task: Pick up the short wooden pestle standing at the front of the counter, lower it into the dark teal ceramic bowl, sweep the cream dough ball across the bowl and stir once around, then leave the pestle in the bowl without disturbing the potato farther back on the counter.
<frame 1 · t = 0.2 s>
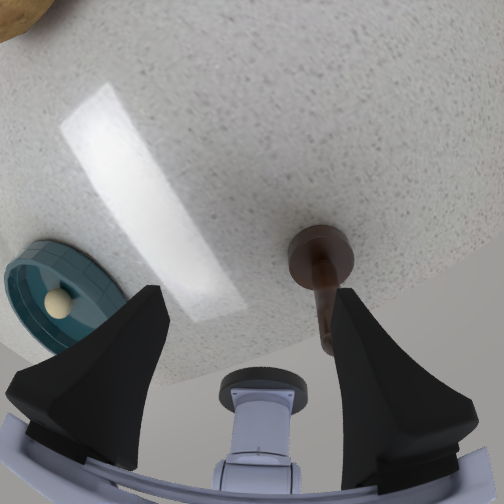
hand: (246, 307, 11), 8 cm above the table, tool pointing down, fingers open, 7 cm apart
bowl: (73, 301, 25), on the table
dough ball: (58, 303, 22), point 2 cm above the table, touching bowl
wooden pestle: (319, 252, 19), on the table
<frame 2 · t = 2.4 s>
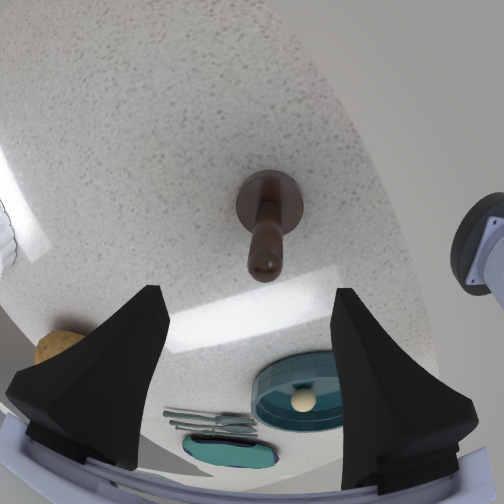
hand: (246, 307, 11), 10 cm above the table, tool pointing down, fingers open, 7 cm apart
cutlery set: (227, 441, 45), on the table
potato: (81, 341, 32), on the table
bowl: (315, 386, 31), on the table
dough ball: (303, 400, 30), point 2 cm above the table, touching bowl
wooden pestle: (270, 200, 20), on the table
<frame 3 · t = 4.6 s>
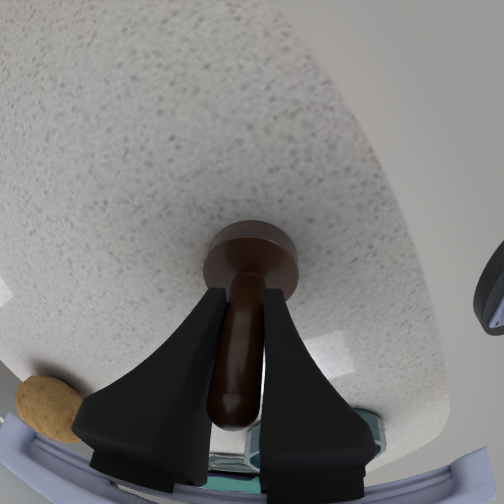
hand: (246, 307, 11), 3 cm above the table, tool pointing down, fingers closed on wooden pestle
cutlery set: (225, 471, 40), on the table
potato: (62, 383, 27), on the table
bowl: (315, 434, 26), on the table
wooden pestle: (252, 259, 14), on the table, touching gripper
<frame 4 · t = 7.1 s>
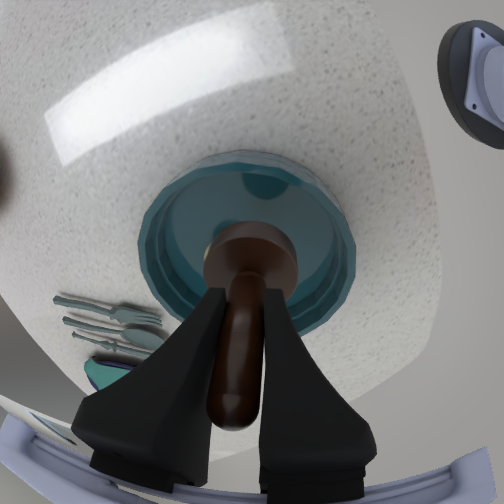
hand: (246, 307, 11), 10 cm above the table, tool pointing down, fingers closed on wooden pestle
cutlery set: (139, 373, 36), on the table
bowl: (248, 246, 22), on the table
wooden pestle: (252, 259, 14), point 7 cm above the table, touching gripper
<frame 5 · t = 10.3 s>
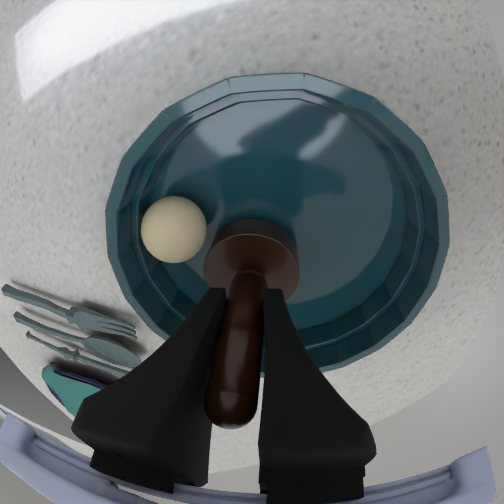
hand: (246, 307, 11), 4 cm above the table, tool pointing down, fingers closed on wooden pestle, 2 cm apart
cutlery set: (107, 388, 27), on the table
bowl: (278, 233, 14), on the table
dough ball: (173, 229, 12), point 2 cm above the table, tilted 126°, touching bowl
wooden pestle: (253, 258, 14), point 1 cm above the table, touching gripper
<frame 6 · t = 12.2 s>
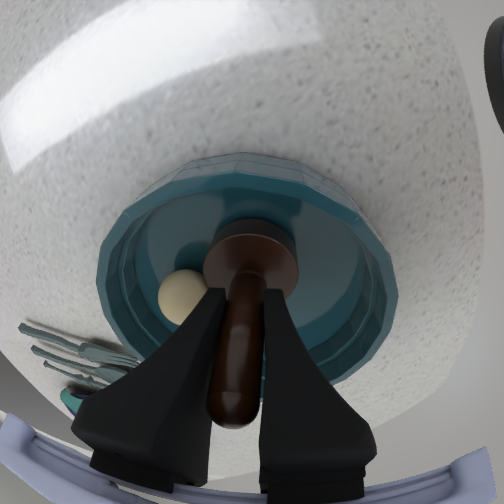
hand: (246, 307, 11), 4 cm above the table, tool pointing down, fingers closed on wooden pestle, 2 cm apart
cutlery set: (120, 406, 29), on the table
bowl: (247, 285, 16), on the table
dough ball: (186, 297, 15), point 2 cm above the table, tilted 57°, touching bowl
wooden pestle: (252, 258, 14), point 1 cm above the table, touching gripper
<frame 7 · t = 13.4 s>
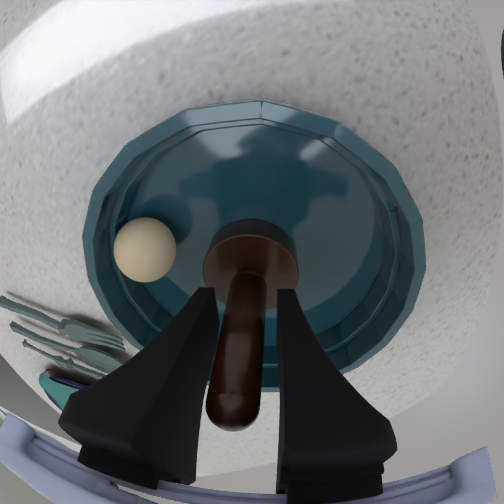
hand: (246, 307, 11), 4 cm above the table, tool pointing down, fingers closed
cutlery set: (101, 394, 27), on the table
bowl: (253, 254, 15), on the table
dough ball: (144, 249, 13), point 2 cm above the table, tilted 133°, touching bowl
wooden pestle: (252, 258, 14), resting on bowl
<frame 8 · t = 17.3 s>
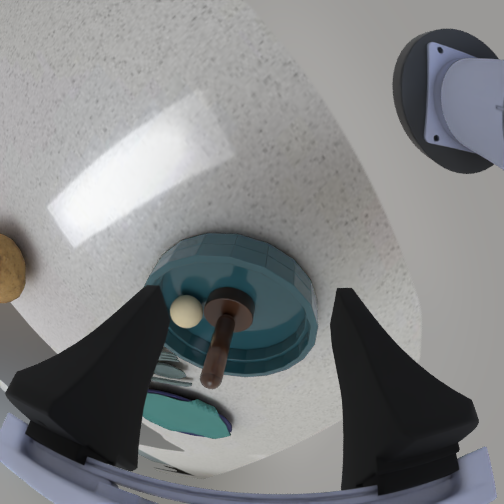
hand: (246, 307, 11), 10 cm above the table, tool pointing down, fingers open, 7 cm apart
cutlery set: (170, 395, 41), on the table
potato: (14, 251, 28), on the table
bowl: (232, 301, 26), on the table
dough ball: (186, 311, 25), point 2 cm above the table, tilted 88°, touching bowl
wooden pestle: (231, 304, 26), resting on bowl
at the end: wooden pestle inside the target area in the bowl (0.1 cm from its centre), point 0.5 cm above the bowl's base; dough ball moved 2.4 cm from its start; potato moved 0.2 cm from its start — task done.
